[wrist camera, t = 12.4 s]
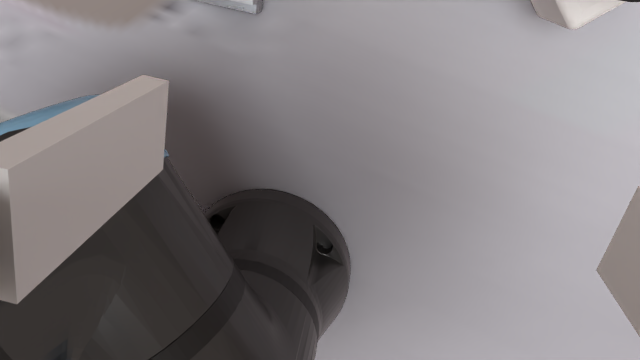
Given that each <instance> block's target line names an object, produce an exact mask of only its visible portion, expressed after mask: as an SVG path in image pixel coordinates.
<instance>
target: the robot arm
mask: <svg viewBox="0 0 640 360" xmlns="http://www.w3.org/2000/svg"><path fill="white" fill-rule="evenodd" d="M168 91H169V81H168V80H164V79H160V78H155V77H151V76H146V75H141V76H139V77H137V78H135V79H133V80H131V81H129V82H126V83H124V84H122V85H120V86H118V87H116V88H114V89H112V90H109V91H107V92H105V93H103V94H101V95H89V96H84V97H79V98H76V99H72V100H69V101H65V102H62V103H58V104H55V105H52V106H48V107H45V108H42V109H39V110H36V111H33V112H30V113H27V114H24V115H21V116H18V117H15V118H13V119H10V120H7V121H4V122H2V123H0V360H314V359H315V354H316V349H317V343H318V340H319V339H320V337H321V336H322V335H323V333H324V332H325V331H326V330H327V328H328V327H329V326H330V324H331V323H332V322H333V320H334V319H335V318H336V316H337V315H338V314H339V312H340V310H341V308H342V306H343V304H344V302H345V299H346V296H347V292H348V287H349V279H350V269H351V266H350V256H349V252H348V249H347V246H346V243H345V241H344V239H343V237H342V235H341V233H340V232H339V230H338V229H337V227H336V226H335V224H334V223H333V222H332V221H331V220H330V219H329V218H328V217H327V216H326V215H325V214H324V213H323V212H322V211H320V210H319V209H318V208H317V207H315V206H314V205H312V204H310V203H309V202H307V201H305V200H303V199H301V198H299V197H296V196H294V195H291V194H288V193H284V192H280V191H274V190H248V191H243V192H239V193H235V194H232V195H230V196H227V197H225V198H223V199H222V200H220V201H218V202H217V203H215V204H214V205H213V206H212V207H210V208H209V209H208V210H207V211H206V212H205V214H203V212H202V211H201V209H200V208H199V206H198V205H197V203H196V202H195V200H194V198H193V197H192V195H191V194H190V192H189V191H188V189H187V188H186V186H185V185H184V183H183V182H182V180H181V178H180V177H179V175H178V174H177V172H176V171H175V169H174V168H173V166H172V165H171V163H170V162H169V160H168V158H167V157H169V154H168V152H167V151H166V149H164V148H165V134H166V119H167V105H168ZM597 272H598V274H599V275H600V277H601V278H602V280H603V281H604V283H605V284H606V286H607V287H608V289H609V290H610V292H611V294H612V295H613V297H614V298H615V300H616V301H617V303H618V304H619V306H620V307H621V309H622V310H623V312H624V313H625V315H626V317H627V318H628V320H629V321H630V323H631V324H632V326H633V327H634V329H635V330H636V332H637V333H638V335H639V336H640V187H639V186H638V188H637V190H636V192H635V194H634V196H633V198H632V200H631V202H630V204H629V206H628V208H627V210H626V212H625V214H624V216H623V218H622V220H621V222H620V224H619V226H618V228H617V230H616V232H615V234H614V236H613V238H612V240H611V242H610V244H609V246H608V248H607V250H606V252H605V254H604V256H603V258H602V260H601V262H600V264H599V266H598V268H597Z"/></svg>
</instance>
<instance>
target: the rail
mask: <svg viewBox="0 0 640 360" xmlns="http://www.w3.org/2000/svg"><path fill="white" fill-rule="evenodd" d="M194 1H199V2H204V3H208V4H213V5H217V6H222V7H227V8H231V9H236V10H240V11H245V12H249V13H254V14H256V13H258V12H261V11H262V5H263V0H194Z"/></svg>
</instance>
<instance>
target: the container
mask: <svg viewBox="0 0 640 360" xmlns="http://www.w3.org/2000/svg"><path fill="white" fill-rule="evenodd" d="M530 1H531V3H532V5H533V7H534V9H535V11H536V13H537V15H538V16H539V17H541V18H543V19H546V20H548V21H551V22H553V23H556V24H558V25H561V26H563V27H565V28H568V29H571V30H576V29H578V28H580V27H582V26H584V25H586V24H587V23H589V22H591V21H593V20H594V19H596V18H598V17H600V16H602V15H603V14H605V13H607V12H609V11H610V10H612V9H614V8H616V7H618V6H619V5H621V4H623V3H625V2H626V1H627V2H640V0H530Z"/></svg>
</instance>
